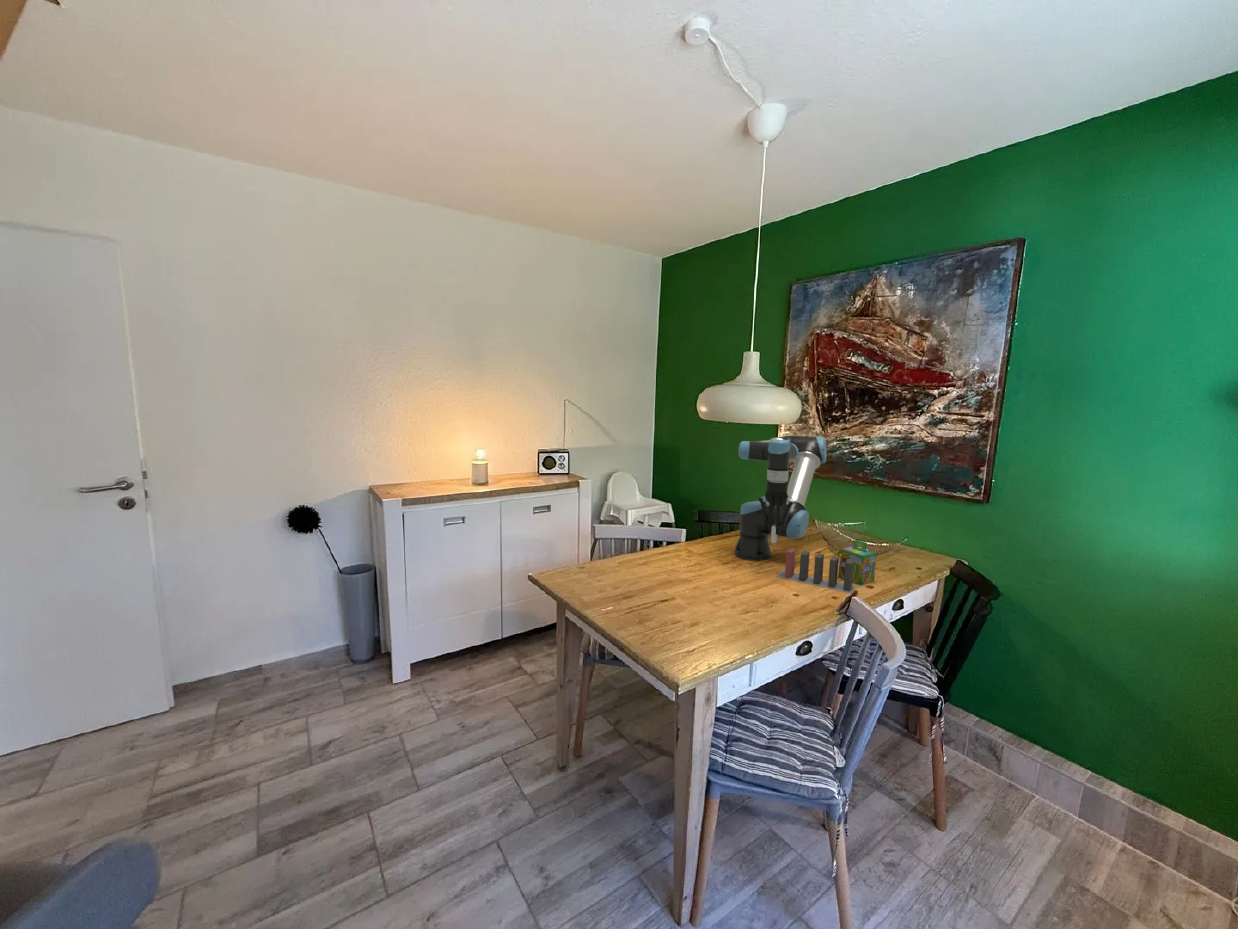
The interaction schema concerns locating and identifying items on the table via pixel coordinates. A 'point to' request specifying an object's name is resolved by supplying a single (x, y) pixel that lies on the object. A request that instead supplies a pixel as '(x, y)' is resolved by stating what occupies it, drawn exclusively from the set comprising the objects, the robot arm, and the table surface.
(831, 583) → the domino
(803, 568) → the domino
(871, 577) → the chalk box
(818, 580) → the domino
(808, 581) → the mat
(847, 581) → the domino
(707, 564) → the table surface
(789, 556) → the domino
